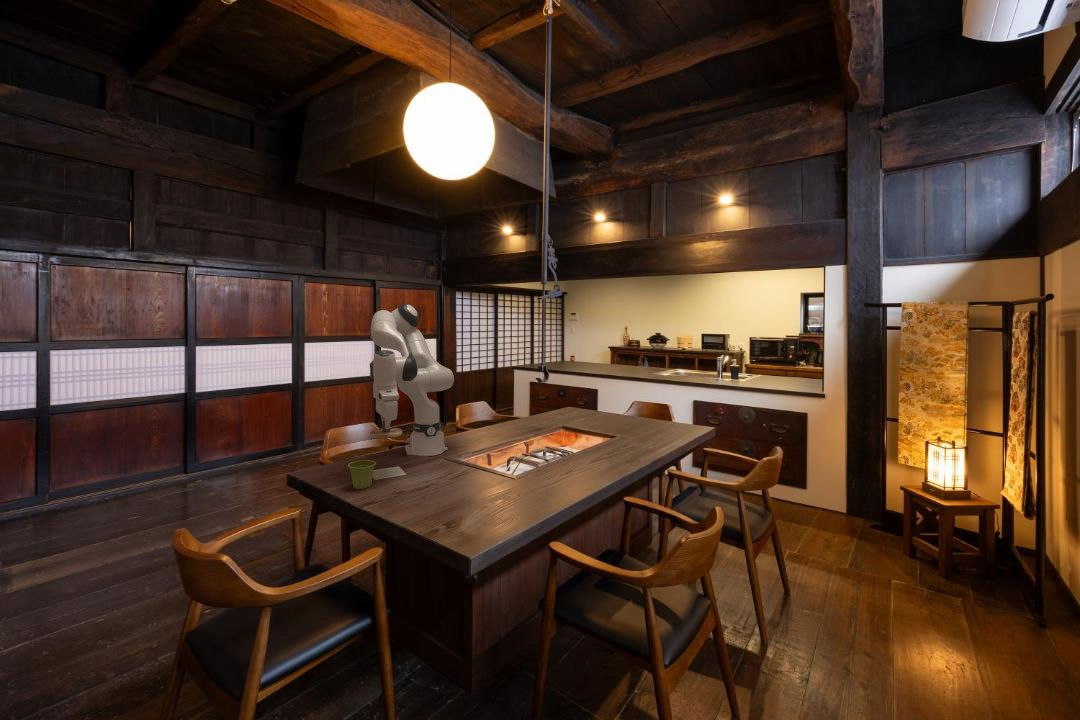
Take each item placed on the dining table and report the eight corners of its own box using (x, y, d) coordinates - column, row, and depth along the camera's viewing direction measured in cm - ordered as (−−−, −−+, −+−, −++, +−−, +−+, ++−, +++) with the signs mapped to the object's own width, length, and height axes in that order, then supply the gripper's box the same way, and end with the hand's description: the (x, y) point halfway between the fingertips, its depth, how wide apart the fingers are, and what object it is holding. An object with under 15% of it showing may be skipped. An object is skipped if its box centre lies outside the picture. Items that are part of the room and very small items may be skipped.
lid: (367, 432, 184) (367, 419, 184) (398, 429, 190) (397, 416, 190) (373, 439, 174) (373, 426, 174) (406, 436, 180) (405, 422, 180)
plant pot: (372, 480, 176) (372, 458, 175) (379, 488, 168) (378, 464, 167) (346, 485, 171) (345, 462, 170) (351, 493, 163) (351, 469, 162)
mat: (368, 472, 185) (368, 470, 185) (399, 467, 192) (398, 466, 192) (374, 481, 175) (374, 479, 175) (406, 476, 181) (406, 474, 181)
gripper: (371, 389, 188) (372, 423, 189) (382, 397, 170) (383, 434, 172) (387, 388, 191) (388, 421, 192) (400, 395, 174) (401, 431, 175)
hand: (386, 427), depth 182 cm, fingers closed on lid, 3 cm apart
